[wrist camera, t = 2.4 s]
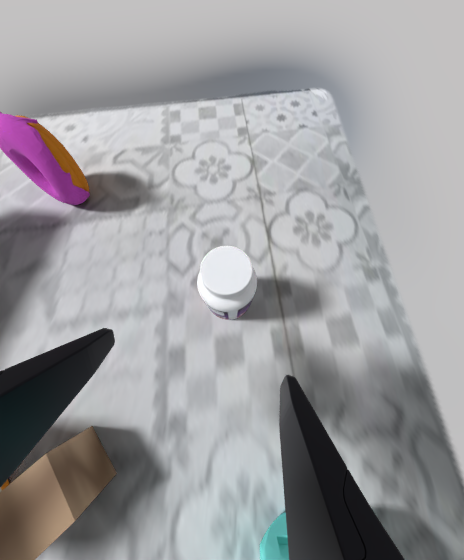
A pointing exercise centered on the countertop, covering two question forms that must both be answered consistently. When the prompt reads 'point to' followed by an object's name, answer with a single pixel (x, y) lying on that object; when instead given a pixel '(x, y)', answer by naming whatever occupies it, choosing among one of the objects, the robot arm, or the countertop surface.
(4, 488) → the supplement box
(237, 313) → the pill bottle
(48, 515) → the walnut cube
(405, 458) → the countertop surface
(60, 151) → the donut
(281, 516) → the decorative dice
